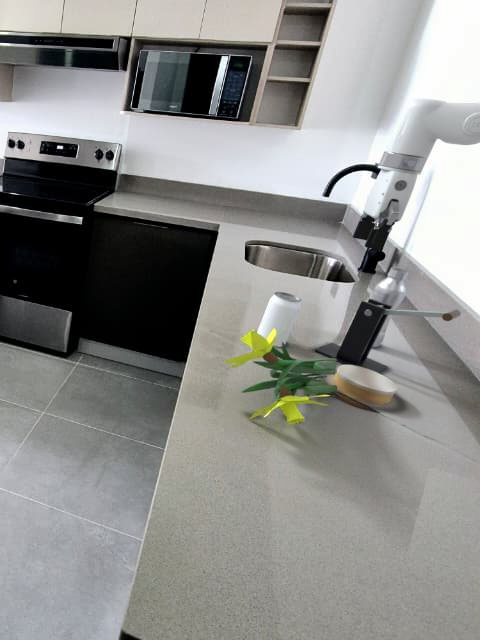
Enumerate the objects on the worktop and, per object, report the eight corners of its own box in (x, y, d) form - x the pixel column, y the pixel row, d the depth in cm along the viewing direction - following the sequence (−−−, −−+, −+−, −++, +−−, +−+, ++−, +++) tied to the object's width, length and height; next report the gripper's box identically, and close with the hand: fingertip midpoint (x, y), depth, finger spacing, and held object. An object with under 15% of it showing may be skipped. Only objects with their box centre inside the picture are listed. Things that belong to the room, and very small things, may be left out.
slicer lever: (460, 319, 100) (461, 307, 100) (452, 323, 97) (452, 311, 96) (370, 314, 112) (371, 303, 112) (360, 317, 109) (361, 306, 109)
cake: (386, 387, 106) (394, 371, 104) (411, 422, 93) (421, 405, 92) (313, 368, 109) (320, 353, 108) (328, 400, 97) (337, 383, 95)
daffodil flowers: (377, 417, 94) (316, 429, 71) (292, 417, 105) (214, 428, 81) (363, 328, 97) (299, 312, 73) (281, 337, 107) (203, 326, 84)
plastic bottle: (348, 344, 125) (384, 268, 117) (349, 336, 130) (383, 263, 122) (378, 353, 122) (417, 277, 114) (378, 345, 127) (415, 271, 119)
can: (279, 352, 115) (299, 304, 110) (251, 340, 119) (268, 294, 114) (287, 344, 120) (306, 298, 115) (259, 334, 123) (277, 289, 118)
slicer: (385, 371, 113) (416, 311, 107) (369, 379, 108) (401, 317, 102) (330, 347, 122) (355, 291, 115) (313, 354, 116) (339, 295, 110)
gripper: (439, 170, 95) (398, 256, 102) (407, 163, 110) (373, 239, 117) (394, 164, 97) (357, 248, 104) (369, 158, 112) (338, 232, 119)
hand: (366, 243), depth 111 cm, fingers open, 9 cm apart
